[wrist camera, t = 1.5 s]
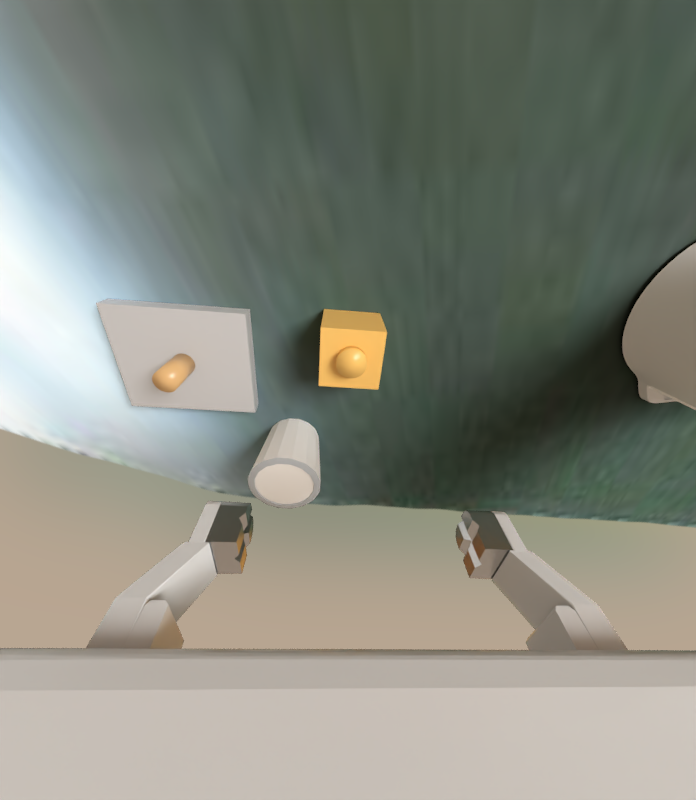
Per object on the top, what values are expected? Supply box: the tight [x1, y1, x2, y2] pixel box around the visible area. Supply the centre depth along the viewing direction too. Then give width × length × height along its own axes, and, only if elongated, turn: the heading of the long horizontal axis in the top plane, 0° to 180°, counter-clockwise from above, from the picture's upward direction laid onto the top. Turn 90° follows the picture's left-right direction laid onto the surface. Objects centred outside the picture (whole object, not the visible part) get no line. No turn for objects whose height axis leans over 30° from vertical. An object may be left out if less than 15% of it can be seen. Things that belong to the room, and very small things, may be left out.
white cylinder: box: [248, 418, 321, 508], centre depth 32 cm, size 7×7×7 cm
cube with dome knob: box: [319, 309, 387, 389], centre depth 26 cm, size 5×5×6 cm
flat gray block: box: [96, 299, 258, 412], centre depth 27 cm, size 12×10×5 cm
